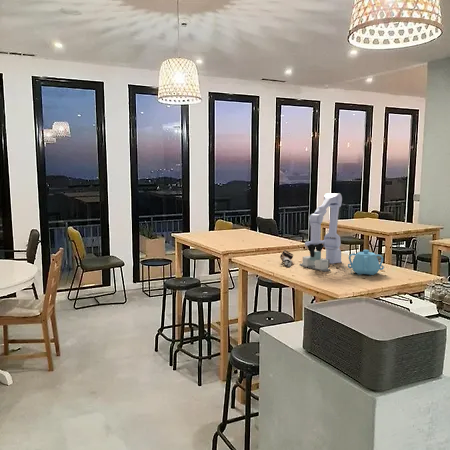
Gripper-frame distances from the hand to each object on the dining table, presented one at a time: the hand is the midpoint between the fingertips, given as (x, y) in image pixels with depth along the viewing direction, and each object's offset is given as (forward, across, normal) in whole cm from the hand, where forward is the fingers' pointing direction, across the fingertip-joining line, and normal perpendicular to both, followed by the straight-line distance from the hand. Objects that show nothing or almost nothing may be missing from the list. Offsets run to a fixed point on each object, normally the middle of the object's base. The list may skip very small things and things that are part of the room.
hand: (315, 256), depth 272 cm
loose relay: (+7, +10, +4) cm, 13 cm away
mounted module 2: (+7, 0, -6) cm, 9 cm away
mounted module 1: (+7, 0, +6) cm, 9 cm away
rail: (+7, 0, 0) cm, 7 cm away
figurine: (+8, -8, +18) cm, 21 cm away
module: (+2, 0, 0) cm, 2 cm away
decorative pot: (+7, +15, -26) cm, 30 cm away
